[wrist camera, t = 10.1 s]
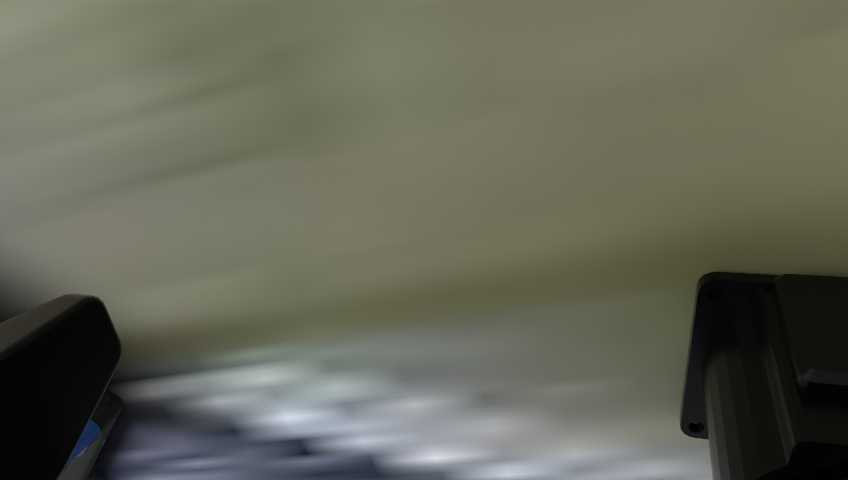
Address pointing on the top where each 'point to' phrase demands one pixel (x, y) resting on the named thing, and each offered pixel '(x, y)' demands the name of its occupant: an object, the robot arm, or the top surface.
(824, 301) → the robot arm
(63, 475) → the blue bin
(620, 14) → the top surface
